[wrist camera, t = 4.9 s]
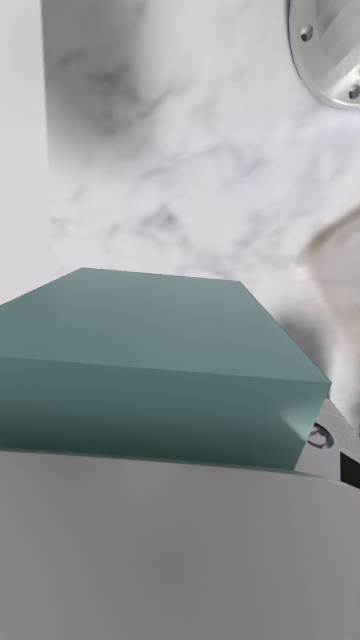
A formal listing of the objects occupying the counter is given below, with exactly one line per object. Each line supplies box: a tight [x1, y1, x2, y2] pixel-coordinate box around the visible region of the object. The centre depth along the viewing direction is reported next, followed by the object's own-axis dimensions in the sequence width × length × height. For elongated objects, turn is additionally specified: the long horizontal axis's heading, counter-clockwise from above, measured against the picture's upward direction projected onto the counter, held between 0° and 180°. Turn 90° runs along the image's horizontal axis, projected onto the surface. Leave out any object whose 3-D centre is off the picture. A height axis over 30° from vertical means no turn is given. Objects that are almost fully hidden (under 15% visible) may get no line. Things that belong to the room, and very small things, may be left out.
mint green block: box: [0, 268, 332, 470], centre depth 9 cm, size 8×8×8 cm
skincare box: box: [316, 398, 360, 463], centre depth 27 cm, size 6×4×12 cm
